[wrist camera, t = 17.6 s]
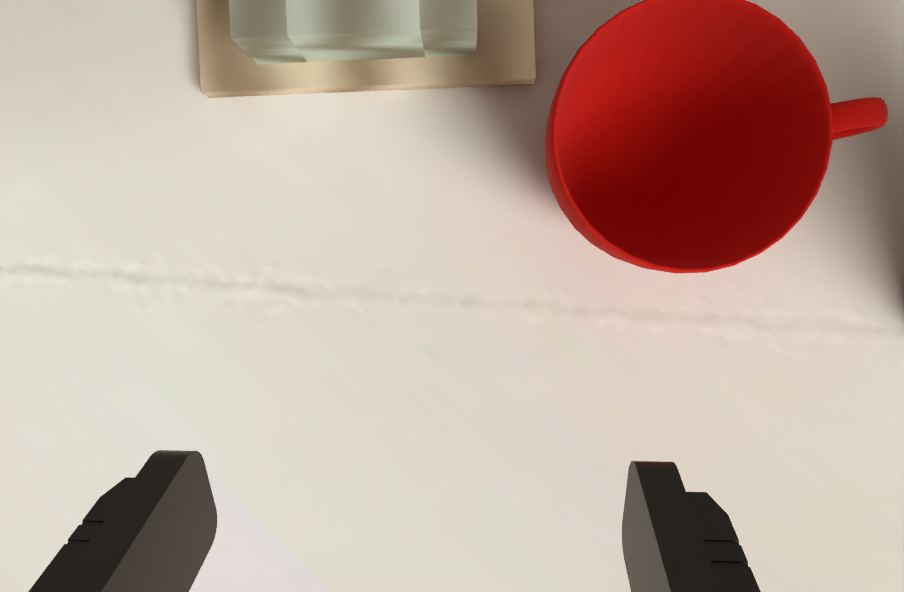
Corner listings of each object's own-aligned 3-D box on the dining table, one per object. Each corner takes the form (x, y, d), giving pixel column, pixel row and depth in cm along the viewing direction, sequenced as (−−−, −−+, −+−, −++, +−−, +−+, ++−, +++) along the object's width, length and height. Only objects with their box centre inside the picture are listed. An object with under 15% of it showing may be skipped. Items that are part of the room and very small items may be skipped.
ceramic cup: (817, 247, 40) (935, 241, 30) (543, 285, 40) (569, 291, 30) (793, 34, 39) (905, -44, 29) (515, 74, 40) (532, 10, 30)
